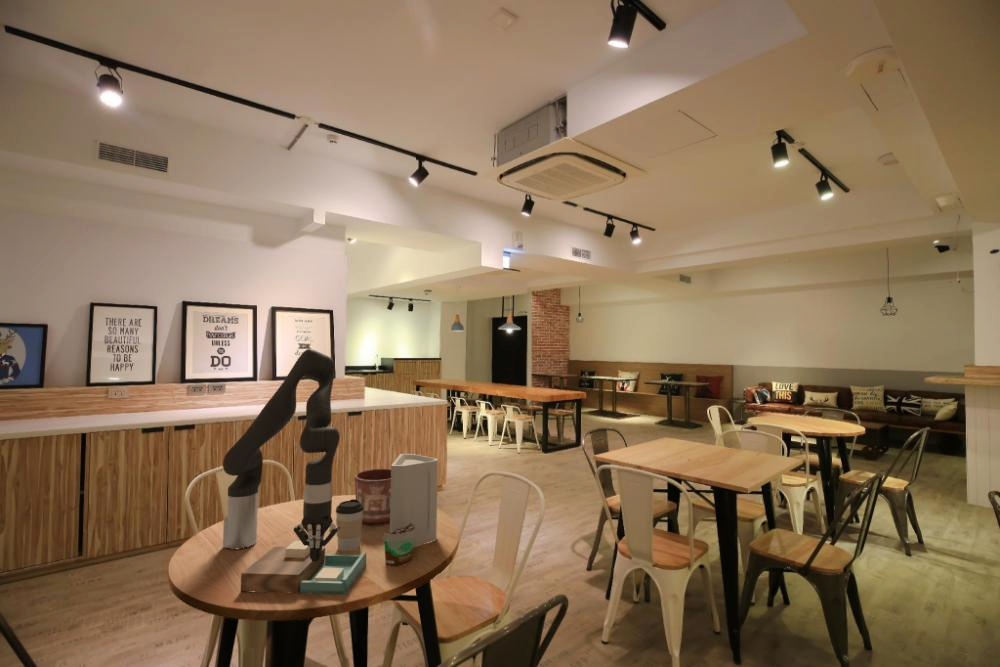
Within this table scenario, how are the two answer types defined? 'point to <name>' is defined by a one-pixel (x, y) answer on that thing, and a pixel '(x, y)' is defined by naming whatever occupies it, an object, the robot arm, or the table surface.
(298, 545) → the tile
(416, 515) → the white wifi router
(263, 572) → the walnut board
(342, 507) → the coffee cup
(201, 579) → the table surface
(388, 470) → the pottery
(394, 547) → the food container
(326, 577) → the tile
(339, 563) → the tray
